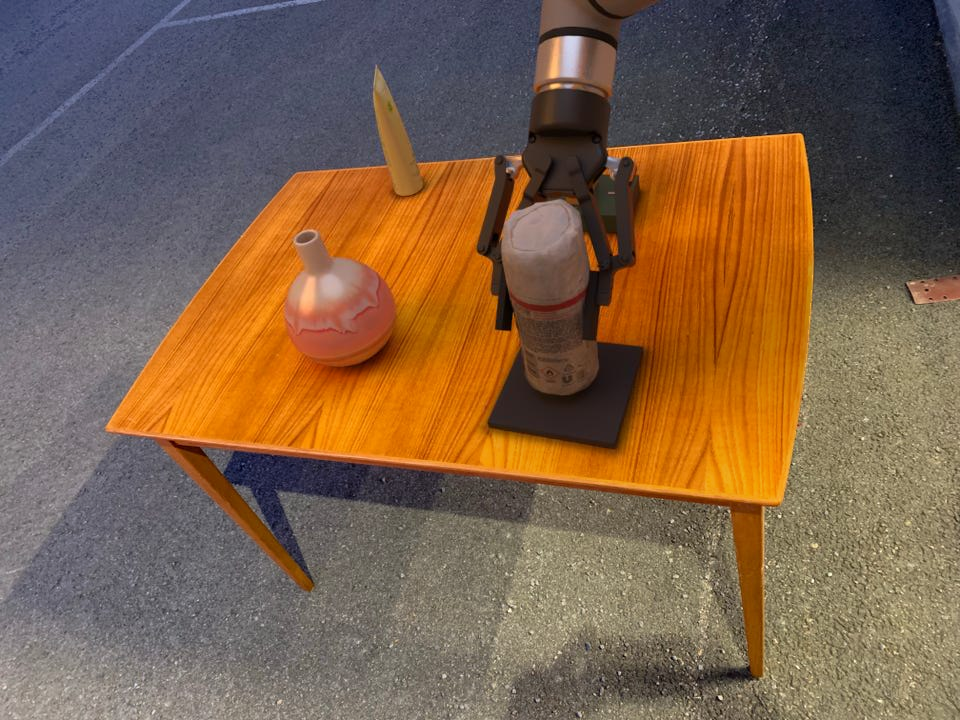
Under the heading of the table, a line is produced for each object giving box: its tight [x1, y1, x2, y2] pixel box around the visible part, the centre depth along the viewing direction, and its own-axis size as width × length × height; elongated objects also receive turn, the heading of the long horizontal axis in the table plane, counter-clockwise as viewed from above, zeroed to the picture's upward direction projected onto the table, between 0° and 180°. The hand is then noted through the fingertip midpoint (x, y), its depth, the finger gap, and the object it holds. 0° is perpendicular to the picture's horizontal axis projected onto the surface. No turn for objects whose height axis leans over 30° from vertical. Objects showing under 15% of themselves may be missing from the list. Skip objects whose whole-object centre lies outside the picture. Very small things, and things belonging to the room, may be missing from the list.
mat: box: [487, 341, 644, 450], centre depth 77 cm, size 14×14×1 cm
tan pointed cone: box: [372, 64, 424, 197], centre depth 109 cm, size 6×5×20 cm
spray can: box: [501, 199, 600, 395], centre depth 69 cm, size 8×8×20 cm
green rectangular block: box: [546, 173, 641, 234], centre depth 100 cm, size 14×10×3 cm
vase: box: [283, 228, 398, 368], centre depth 84 cm, size 14×14×18 cm
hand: (545, 335), depth 68 cm, fingers closed on spray can, 8 cm apart
